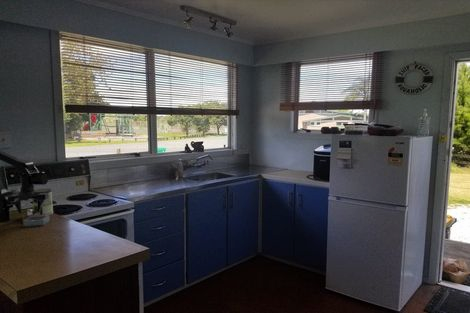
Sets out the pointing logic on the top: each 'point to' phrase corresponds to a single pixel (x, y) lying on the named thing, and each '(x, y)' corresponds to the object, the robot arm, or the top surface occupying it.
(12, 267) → the top surface
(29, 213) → the pin
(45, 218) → the pin tray
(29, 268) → the top surface
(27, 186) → the robot arm
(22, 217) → the block
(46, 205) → the coffee can
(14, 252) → the top surface
